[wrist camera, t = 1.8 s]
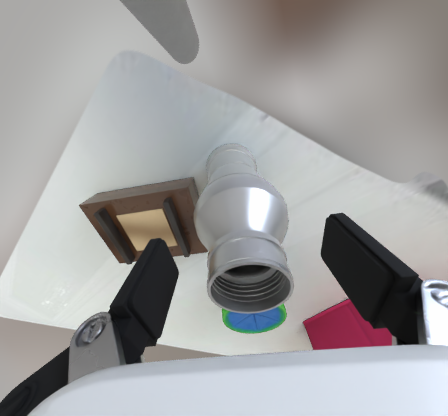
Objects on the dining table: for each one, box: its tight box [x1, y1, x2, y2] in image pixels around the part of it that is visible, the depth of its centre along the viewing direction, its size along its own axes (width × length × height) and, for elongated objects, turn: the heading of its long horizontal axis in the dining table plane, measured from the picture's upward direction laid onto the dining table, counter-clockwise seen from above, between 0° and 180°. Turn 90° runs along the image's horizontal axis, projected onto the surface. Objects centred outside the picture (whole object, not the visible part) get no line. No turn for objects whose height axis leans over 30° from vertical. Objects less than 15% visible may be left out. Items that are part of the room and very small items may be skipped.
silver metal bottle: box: [194, 144, 294, 314], centre depth 16 cm, size 6×7×20 cm
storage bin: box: [303, 299, 392, 350], centre depth 34 cm, size 28×29×28 cm
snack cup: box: [222, 304, 287, 333], centre depth 31 cm, size 16×10×10 cm
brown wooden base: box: [79, 177, 208, 264], centre depth 27 cm, size 12×16×6 cm
